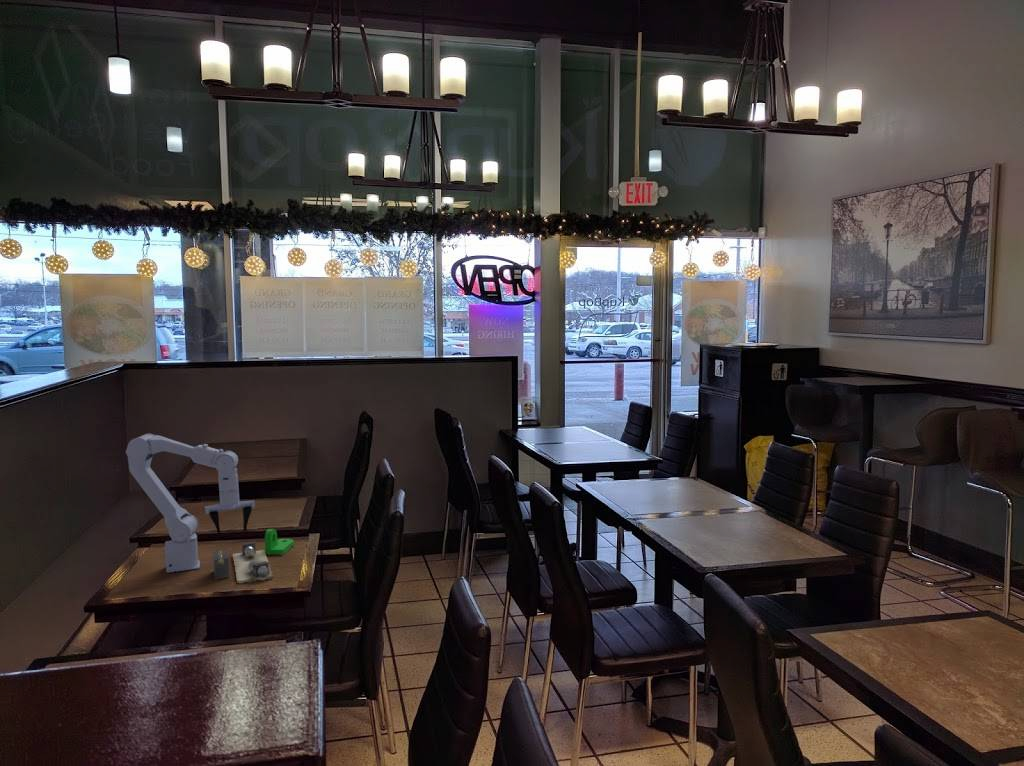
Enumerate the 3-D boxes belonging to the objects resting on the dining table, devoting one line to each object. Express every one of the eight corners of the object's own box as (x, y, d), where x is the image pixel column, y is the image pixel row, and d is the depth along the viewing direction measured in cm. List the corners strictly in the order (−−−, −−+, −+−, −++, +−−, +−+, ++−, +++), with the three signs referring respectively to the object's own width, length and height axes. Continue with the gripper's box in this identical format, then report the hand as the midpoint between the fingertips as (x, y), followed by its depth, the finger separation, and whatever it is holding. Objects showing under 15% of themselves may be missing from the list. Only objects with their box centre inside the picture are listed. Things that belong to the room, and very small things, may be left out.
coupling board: (237, 583, 218) (237, 581, 218) (232, 556, 244) (232, 553, 244) (272, 578, 222) (272, 576, 222) (264, 552, 248) (264, 549, 248)
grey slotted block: (214, 580, 222) (213, 560, 221) (214, 570, 230) (213, 551, 229) (229, 578, 223) (228, 558, 223) (227, 569, 231) (226, 550, 231)
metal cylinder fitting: (256, 557, 239) (256, 546, 239) (243, 559, 238) (243, 548, 237) (254, 550, 247) (254, 540, 246) (242, 552, 245) (241, 541, 245)
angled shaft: (246, 572, 226) (246, 560, 225) (259, 569, 228) (259, 557, 228) (258, 578, 220) (257, 566, 220) (271, 575, 223) (270, 563, 222)
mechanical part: (283, 555, 245) (282, 531, 244) (265, 555, 245) (264, 531, 244) (296, 544, 256) (295, 521, 256) (279, 544, 257) (278, 521, 256)
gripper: (204, 495, 227) (207, 539, 228) (254, 489, 233) (257, 532, 234) (203, 491, 233) (207, 533, 234) (252, 485, 239) (255, 526, 240)
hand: (232, 532), depth 234 cm, fingers open, 7 cm apart
